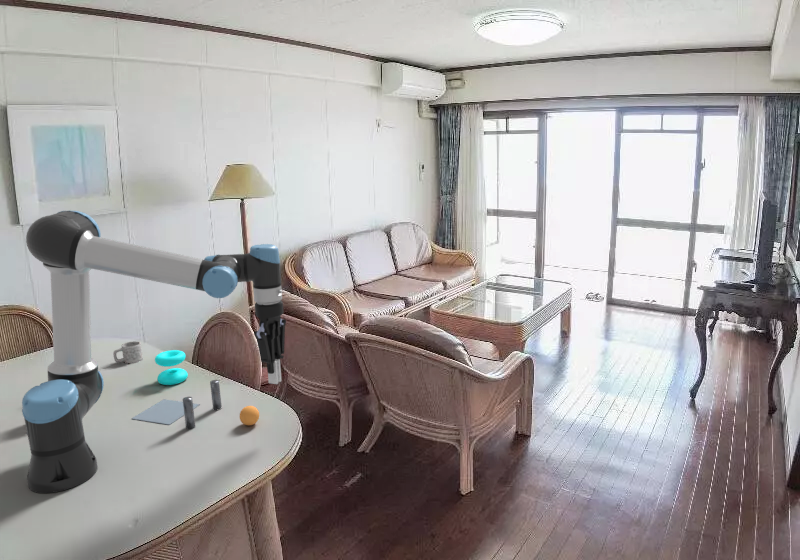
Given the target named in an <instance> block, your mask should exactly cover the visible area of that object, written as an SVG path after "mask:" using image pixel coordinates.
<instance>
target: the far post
mask: <svg viewBox="0 0 800 560" xmlns="http://www.w3.org/2000/svg"><path fill="white" fill-rule="evenodd" d="M209 383H210V384H209V385H210V393H211V402H212V410H213V409H214V410H213V411H218V410H217V409H220V408H221V407H222V397H221V388H220V386H221V385H220V381H219V379H212V380H211V381H210V382H209ZM222 408H223V407H222ZM222 408H221V409H222ZM221 409H220V410H221Z"/></svg>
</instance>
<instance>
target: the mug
mask: <svg viewBox="0 0 800 560" xmlns="http://www.w3.org/2000/svg"><path fill="white" fill-rule="evenodd" d="M141 344H142V343H141V342H140V341H136V340H135V341H128V342H124V343H123V344H121V347H120V348H117V349H115V350H113V360H114V362H116V363H119V362H123V363H124V362H125V364H128V363H130V364H136V363H139V361H140V362H141V361H143V360H144V359H143V358H144V357H143V352H142V345H141ZM118 353H122V358H118V357H117V354H118Z"/></svg>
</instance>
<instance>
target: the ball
mask: <svg viewBox="0 0 800 560" xmlns="http://www.w3.org/2000/svg"><path fill="white" fill-rule="evenodd" d="M259 419H260V411H259V410H258V409H257V407H255V406H254V405H246V406H245V407H243V408H242V409H241V410H240V413H239V420H240V422H241V424H243V425H244V426H253V425H255V424H256V423H257V422H258V420H259Z"/></svg>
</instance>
